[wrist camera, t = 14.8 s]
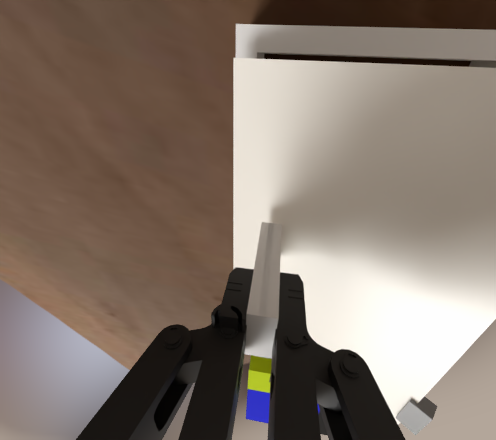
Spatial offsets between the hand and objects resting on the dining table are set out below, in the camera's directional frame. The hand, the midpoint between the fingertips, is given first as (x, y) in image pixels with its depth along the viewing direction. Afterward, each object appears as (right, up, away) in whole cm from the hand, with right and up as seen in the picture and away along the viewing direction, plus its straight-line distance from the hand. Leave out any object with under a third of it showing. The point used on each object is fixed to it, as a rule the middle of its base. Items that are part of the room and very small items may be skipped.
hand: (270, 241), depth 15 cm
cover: (+3, 0, -1) cm, 3 cm away
